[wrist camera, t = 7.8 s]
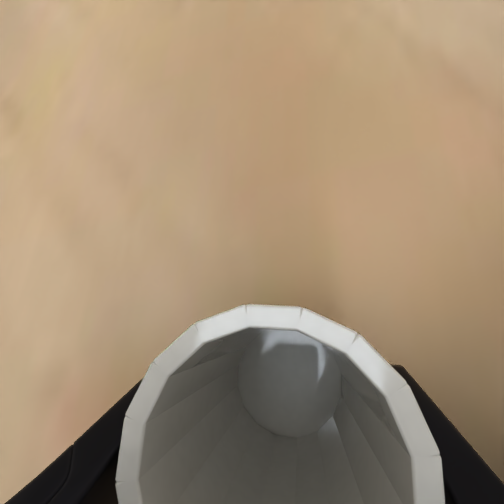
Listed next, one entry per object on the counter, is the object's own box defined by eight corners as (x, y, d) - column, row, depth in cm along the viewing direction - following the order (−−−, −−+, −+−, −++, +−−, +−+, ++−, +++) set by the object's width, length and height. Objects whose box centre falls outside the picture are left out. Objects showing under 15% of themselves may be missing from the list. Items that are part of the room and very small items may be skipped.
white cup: (253, 459, 14) (155, 734, 5) (217, 338, 16) (92, 359, 6) (370, 420, 14) (525, 635, 4) (321, 301, 16) (353, 263, 6)
